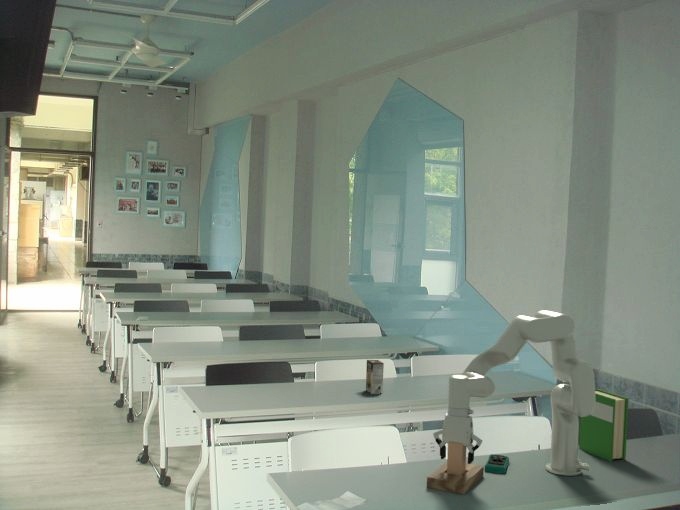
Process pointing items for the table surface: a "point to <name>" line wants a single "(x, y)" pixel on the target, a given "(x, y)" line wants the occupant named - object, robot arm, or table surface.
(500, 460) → the digital multimeter
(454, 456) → the square peg
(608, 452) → the hardback book
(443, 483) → the wooden peg hole block
